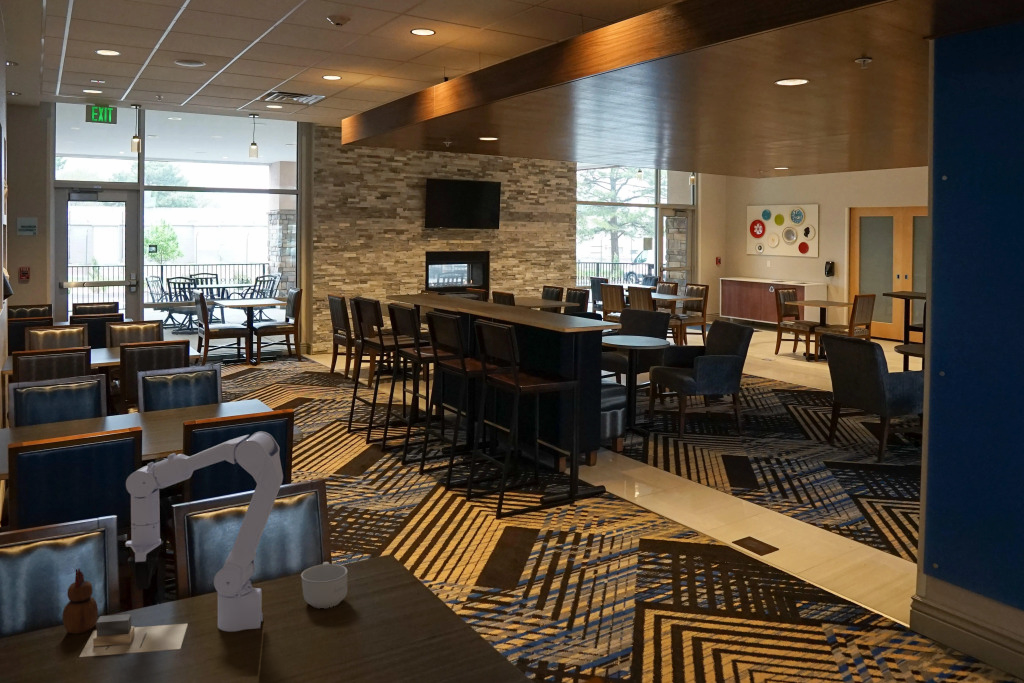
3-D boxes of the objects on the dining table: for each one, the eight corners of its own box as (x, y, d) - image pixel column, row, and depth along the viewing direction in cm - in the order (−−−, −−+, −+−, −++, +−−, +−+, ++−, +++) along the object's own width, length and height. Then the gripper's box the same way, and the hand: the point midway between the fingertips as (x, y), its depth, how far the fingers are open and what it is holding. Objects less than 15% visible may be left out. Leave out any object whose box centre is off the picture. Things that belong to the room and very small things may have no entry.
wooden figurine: (81, 641, 173) (80, 573, 172) (57, 638, 174) (56, 570, 173) (103, 627, 180) (102, 561, 178) (80, 624, 181) (79, 559, 180)
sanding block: (134, 634, 174) (134, 612, 174) (130, 644, 170) (129, 621, 170) (98, 637, 173) (98, 614, 172) (93, 647, 168) (92, 624, 168)
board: (187, 628, 181) (187, 623, 181) (180, 654, 169) (180, 648, 169) (93, 635, 176) (93, 630, 176) (79, 662, 164) (79, 656, 164)
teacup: (341, 614, 191) (342, 580, 190) (295, 612, 191) (295, 579, 190) (353, 590, 205) (354, 559, 204) (310, 588, 205) (311, 557, 204)
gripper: (131, 512, 184) (132, 570, 186) (118, 533, 171) (120, 596, 172) (165, 510, 186) (166, 568, 188) (155, 531, 172) (156, 593, 174)
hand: (146, 581), depth 180 cm, fingers open, 7 cm apart
